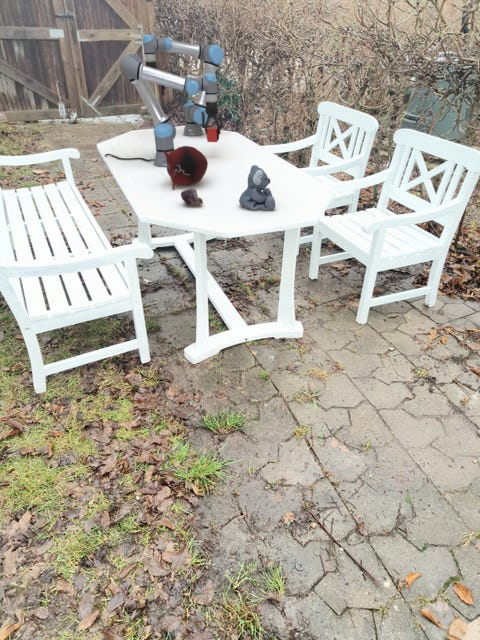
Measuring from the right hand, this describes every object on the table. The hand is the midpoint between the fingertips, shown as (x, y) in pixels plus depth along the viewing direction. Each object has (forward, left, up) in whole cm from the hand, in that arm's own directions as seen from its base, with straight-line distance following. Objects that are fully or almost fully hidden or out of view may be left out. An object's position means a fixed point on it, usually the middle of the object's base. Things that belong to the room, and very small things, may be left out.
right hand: (154, 95), depth 324 cm
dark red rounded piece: (+104, 0, -33) cm, 109 cm away
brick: (+56, +28, -22) cm, 66 cm away
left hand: (+56, +29, -21) cm, 66 cm away
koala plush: (+152, +26, -33) cm, 158 cm away
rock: (+140, -6, -33) cm, 144 cm away
